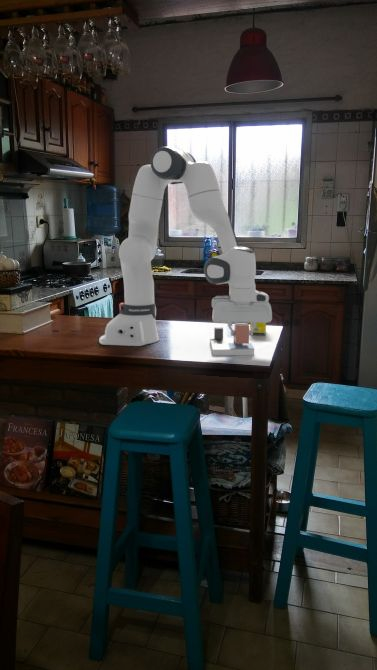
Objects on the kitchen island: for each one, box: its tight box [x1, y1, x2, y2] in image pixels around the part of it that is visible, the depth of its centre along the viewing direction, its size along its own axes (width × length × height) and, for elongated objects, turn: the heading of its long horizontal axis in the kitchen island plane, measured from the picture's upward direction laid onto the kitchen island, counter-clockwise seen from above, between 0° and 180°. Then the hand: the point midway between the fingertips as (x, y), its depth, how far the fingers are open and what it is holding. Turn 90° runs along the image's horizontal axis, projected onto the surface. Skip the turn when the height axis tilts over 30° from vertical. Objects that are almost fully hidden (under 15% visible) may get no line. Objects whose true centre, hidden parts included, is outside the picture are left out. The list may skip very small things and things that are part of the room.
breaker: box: [213, 326, 224, 340], centre depth 195 cm, size 3×2×4 cm
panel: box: [209, 337, 255, 356], centre depth 190 cm, size 14×17×2 cm
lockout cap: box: [233, 323, 250, 344], centre depth 185 cm, size 4×4×6 cm
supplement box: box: [249, 322, 267, 336], centre depth 213 cm, size 6×6×11 cm
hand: (241, 335), depth 185 cm, fingers closed on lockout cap, 4 cm apart
